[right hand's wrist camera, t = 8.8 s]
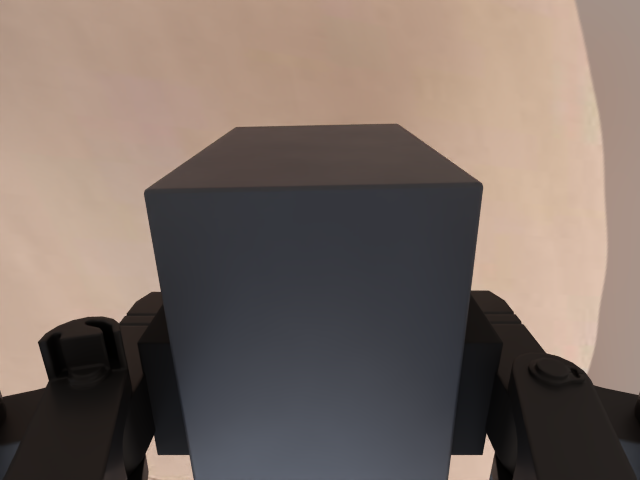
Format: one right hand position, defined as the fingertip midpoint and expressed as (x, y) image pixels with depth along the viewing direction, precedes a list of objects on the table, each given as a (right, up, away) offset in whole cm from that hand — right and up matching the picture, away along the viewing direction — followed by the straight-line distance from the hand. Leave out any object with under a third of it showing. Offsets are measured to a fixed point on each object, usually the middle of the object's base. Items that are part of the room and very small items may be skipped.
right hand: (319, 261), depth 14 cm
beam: (+1, -31, +13) cm, 34 cm away
